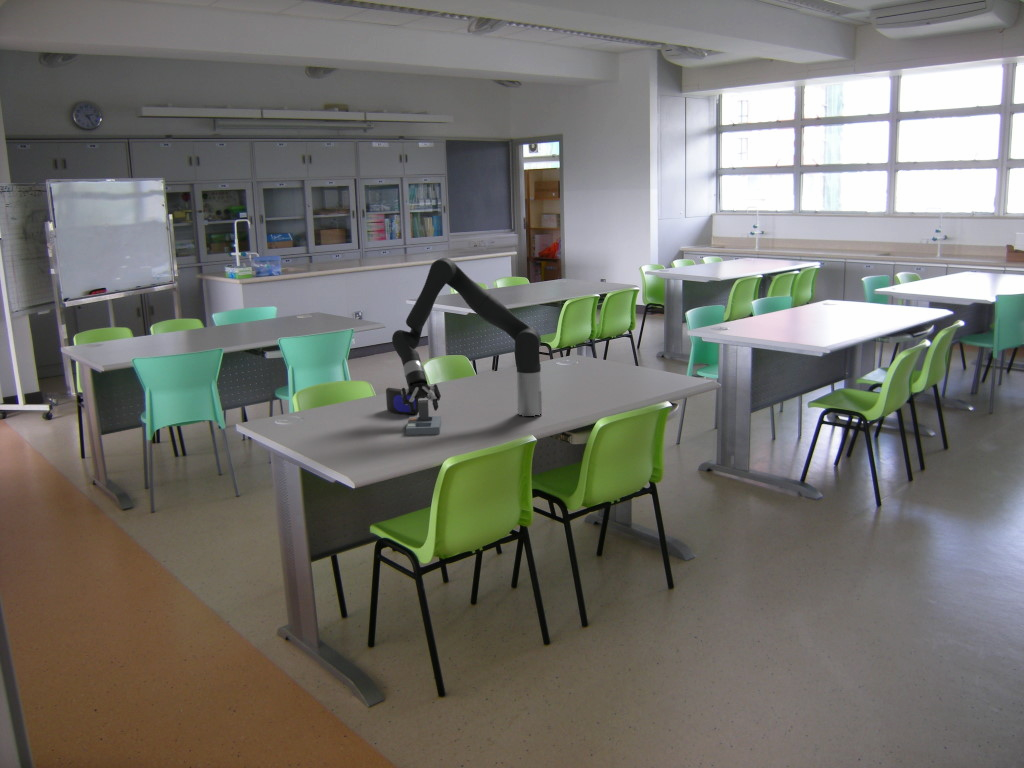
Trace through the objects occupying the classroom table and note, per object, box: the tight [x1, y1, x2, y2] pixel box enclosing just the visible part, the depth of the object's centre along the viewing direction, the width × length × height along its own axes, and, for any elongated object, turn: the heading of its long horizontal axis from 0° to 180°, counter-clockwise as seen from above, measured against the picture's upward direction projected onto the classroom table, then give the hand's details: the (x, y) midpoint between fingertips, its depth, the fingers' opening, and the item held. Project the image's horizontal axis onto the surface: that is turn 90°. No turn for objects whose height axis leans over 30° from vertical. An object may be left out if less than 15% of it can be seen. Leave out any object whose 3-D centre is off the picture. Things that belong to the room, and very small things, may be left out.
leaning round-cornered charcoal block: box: [385, 387, 419, 416], centre depth 333 cm, size 16×5×9 cm, turn 56°
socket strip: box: [405, 415, 442, 436], centre depth 311 cm, size 12×16×3 cm
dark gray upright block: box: [418, 399, 430, 421], centre depth 314 cm, size 4×4×9 cm
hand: (425, 410), depth 312 cm, fingers open, 8 cm apart
